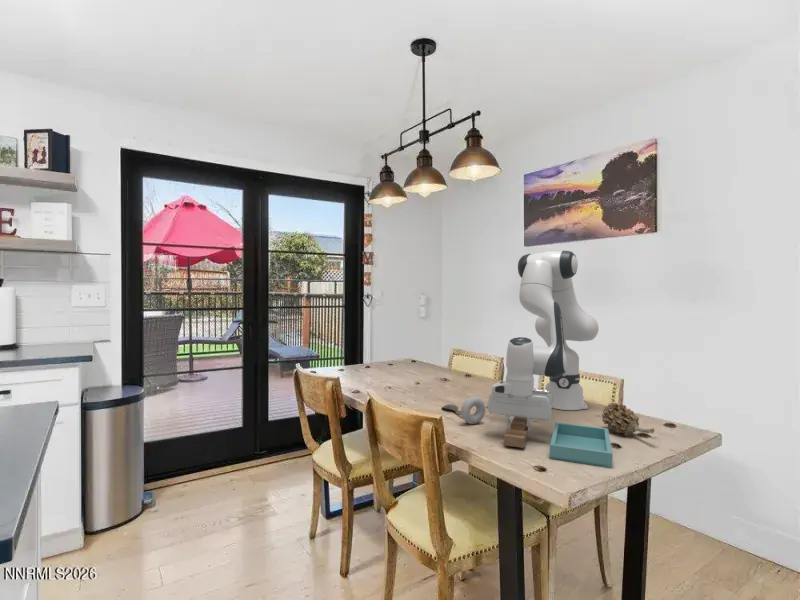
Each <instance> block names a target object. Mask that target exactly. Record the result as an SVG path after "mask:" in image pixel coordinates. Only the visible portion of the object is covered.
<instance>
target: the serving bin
mask: <svg viewBox="0 0 800 600" xmlns="http://www.w3.org/2000/svg"><path fill="white" fill-rule="evenodd" d="M550 438H551V439H550V443H549V459H550V460H557V461H563V462H569V463H577V464H584V465H591V466H595V467H596V466H597V467H602V466H604V467H603V468H609V467H612V468H613V450H612V444H611V438H610V431H609V428H608V427H607V428H606V427H597V426H591V425H590V426H589V425H581V424H572V423H565V422H558V421H555V422H554V426H553V431H552V435H551V437H550Z"/></svg>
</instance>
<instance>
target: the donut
mask: <svg viewBox="0 0 800 600" xmlns="http://www.w3.org/2000/svg"><path fill="white" fill-rule="evenodd" d="M473 407H475V408H476V409H475V412H474V413H473V414H472V413H471V410H472V408H473ZM486 409H487V408H486V405H485V401H484V400H483V399H482V398H480V397H478V396H470V397H468V398H466V399H465V400H464V402H463V403H462V405H461V407H460V413H461V415H460V416H461V418H462V419H463V420H464V422H466V424H469V425H475V424H478V423H479V422H481V421H482V420H483V419H484V417H485V414H486Z"/></svg>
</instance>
